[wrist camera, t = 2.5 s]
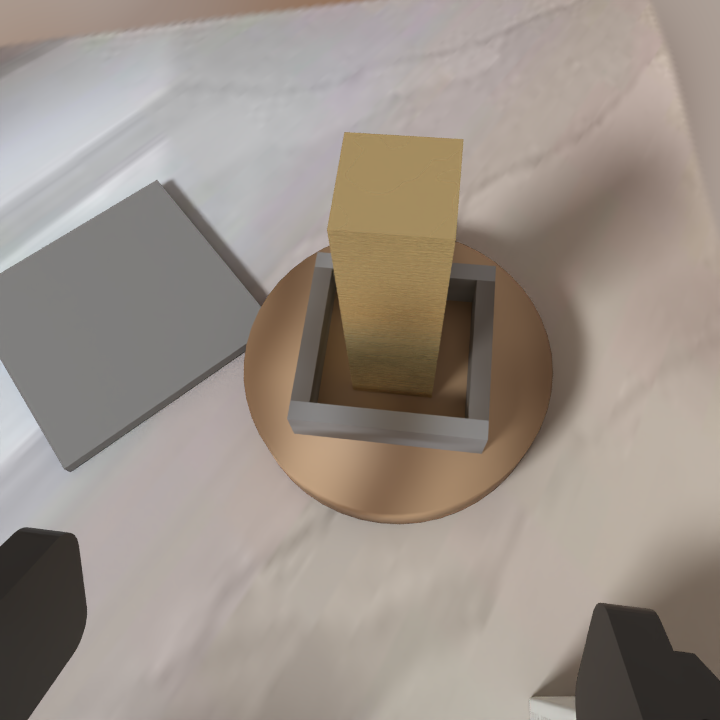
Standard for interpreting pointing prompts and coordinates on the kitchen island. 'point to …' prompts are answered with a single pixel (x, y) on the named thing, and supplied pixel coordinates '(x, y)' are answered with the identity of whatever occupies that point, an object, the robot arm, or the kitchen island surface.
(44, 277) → the mat
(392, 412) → the copper round socket base
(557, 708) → the skincare box
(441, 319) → the brass bar
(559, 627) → the kitchen island surface
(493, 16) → the kitchen island surface
